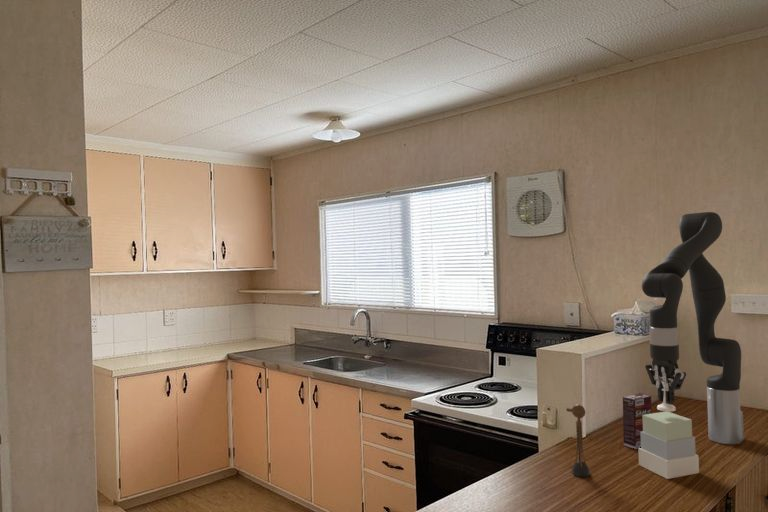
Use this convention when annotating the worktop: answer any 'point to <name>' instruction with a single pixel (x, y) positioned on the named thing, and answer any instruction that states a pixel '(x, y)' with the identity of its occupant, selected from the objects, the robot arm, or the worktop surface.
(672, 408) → the chess piece
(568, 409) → the wooden tabletop sculpture
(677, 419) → the brick tower
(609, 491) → the worktop surface
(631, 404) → the supplement box
